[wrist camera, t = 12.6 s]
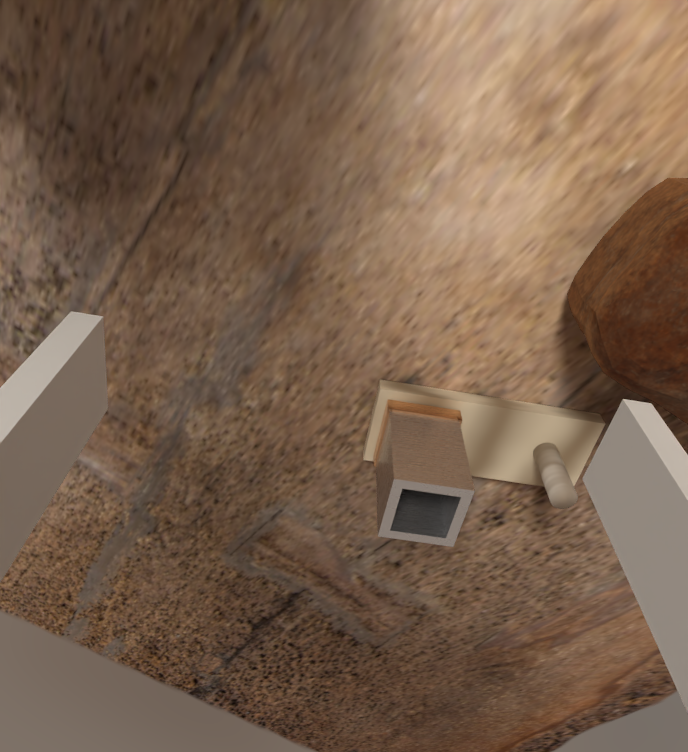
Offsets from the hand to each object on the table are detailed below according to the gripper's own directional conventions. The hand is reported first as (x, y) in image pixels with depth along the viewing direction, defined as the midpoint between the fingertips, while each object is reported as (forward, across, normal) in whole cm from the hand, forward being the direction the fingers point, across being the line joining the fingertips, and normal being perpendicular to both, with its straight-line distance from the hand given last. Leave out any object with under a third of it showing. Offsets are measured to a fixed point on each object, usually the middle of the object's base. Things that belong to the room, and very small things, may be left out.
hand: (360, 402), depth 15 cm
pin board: (+32, +15, -23) cm, 42 cm away
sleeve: (+30, +9, -23) cm, 39 cm away
